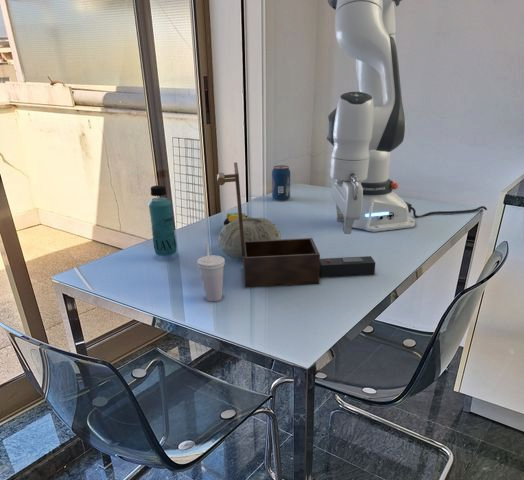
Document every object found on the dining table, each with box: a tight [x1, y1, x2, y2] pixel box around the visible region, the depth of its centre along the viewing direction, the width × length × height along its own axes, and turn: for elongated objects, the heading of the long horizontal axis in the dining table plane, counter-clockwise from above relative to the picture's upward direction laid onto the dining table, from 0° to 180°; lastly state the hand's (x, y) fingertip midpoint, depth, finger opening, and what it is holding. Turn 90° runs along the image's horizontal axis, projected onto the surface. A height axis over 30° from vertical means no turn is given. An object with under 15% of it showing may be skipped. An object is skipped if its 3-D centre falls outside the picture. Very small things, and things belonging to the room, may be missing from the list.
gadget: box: [223, 211, 248, 226], centre depth 163 cm, size 6×13×6 cm, turn 174°
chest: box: [242, 237, 321, 289], centre depth 129 cm, size 19×12×8 cm, turn 94°
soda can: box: [271, 164, 291, 202], centre depth 191 cm, size 7×7×12 cm
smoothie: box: [197, 241, 226, 302], centre depth 117 cm, size 6×6×14 cm
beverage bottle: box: [147, 184, 178, 257], centre depth 140 cm, size 6×7×20 cm
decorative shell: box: [217, 216, 281, 260], centre depth 142 cm, size 18×18×10 cm
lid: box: [216, 161, 245, 257], centre depth 121 cm, size 19×12×5 cm
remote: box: [319, 255, 376, 278], centre depth 131 cm, size 14×5×4 cm, turn 94°
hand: (343, 227), depth 126 cm, fingers open, 8 cm apart
